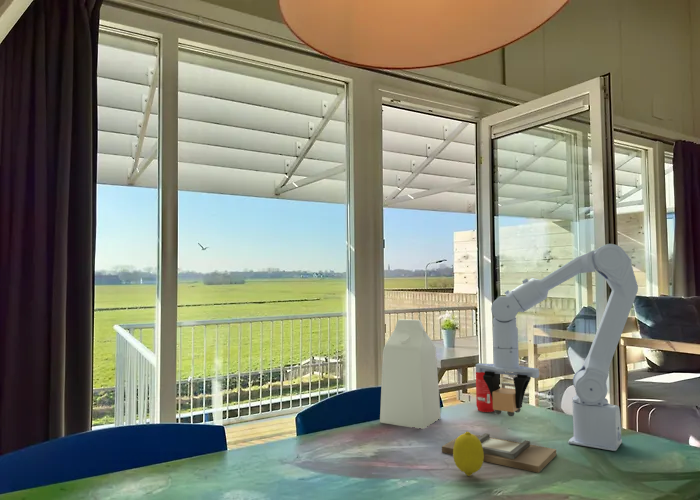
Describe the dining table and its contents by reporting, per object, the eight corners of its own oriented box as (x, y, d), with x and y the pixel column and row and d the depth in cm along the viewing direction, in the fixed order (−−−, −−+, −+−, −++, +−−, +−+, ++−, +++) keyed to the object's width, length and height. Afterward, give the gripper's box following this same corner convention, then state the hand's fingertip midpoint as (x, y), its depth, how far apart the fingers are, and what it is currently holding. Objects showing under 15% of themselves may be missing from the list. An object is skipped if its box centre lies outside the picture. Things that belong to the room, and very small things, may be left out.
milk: (440, 418, 135) (438, 319, 136) (423, 429, 125) (421, 322, 126) (399, 412, 141) (398, 317, 142) (379, 422, 131) (378, 320, 133)
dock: (556, 455, 105) (556, 444, 105) (538, 472, 96) (538, 460, 96) (465, 438, 117) (465, 428, 117) (441, 452, 108) (441, 441, 108)
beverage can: (472, 409, 144) (471, 366, 144) (487, 407, 146) (486, 364, 146) (484, 413, 139) (483, 368, 140) (499, 411, 141) (498, 367, 142)
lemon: (482, 483, 91) (481, 437, 91) (451, 479, 93) (450, 434, 93) (485, 472, 96) (484, 429, 97) (455, 469, 98) (455, 426, 98)
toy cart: (502, 409, 123) (501, 382, 124) (522, 412, 121) (521, 384, 121) (493, 414, 119) (492, 386, 119) (513, 417, 116) (512, 388, 116)
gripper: (469, 347, 122) (471, 405, 121) (531, 351, 113) (533, 414, 112) (481, 344, 127) (483, 399, 127) (541, 348, 119) (543, 407, 118)
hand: (507, 406), depth 120 cm, fingers closed on toy cart, 5 cm apart
